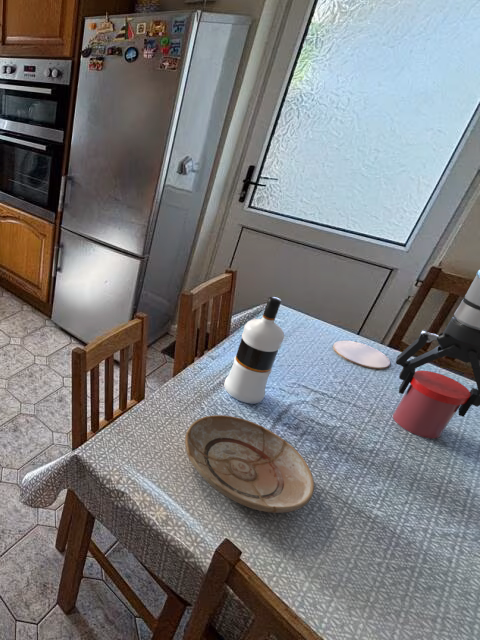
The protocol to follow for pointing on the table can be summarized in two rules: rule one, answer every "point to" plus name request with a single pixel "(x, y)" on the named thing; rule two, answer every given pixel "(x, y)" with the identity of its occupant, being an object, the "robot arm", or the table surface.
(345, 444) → the table surface
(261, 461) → the ceramic bowl
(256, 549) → the table surface
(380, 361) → the coaster
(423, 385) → the lid
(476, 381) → the robot arm
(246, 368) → the vodka
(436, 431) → the jam jar
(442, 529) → the table surface
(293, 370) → the table surface
